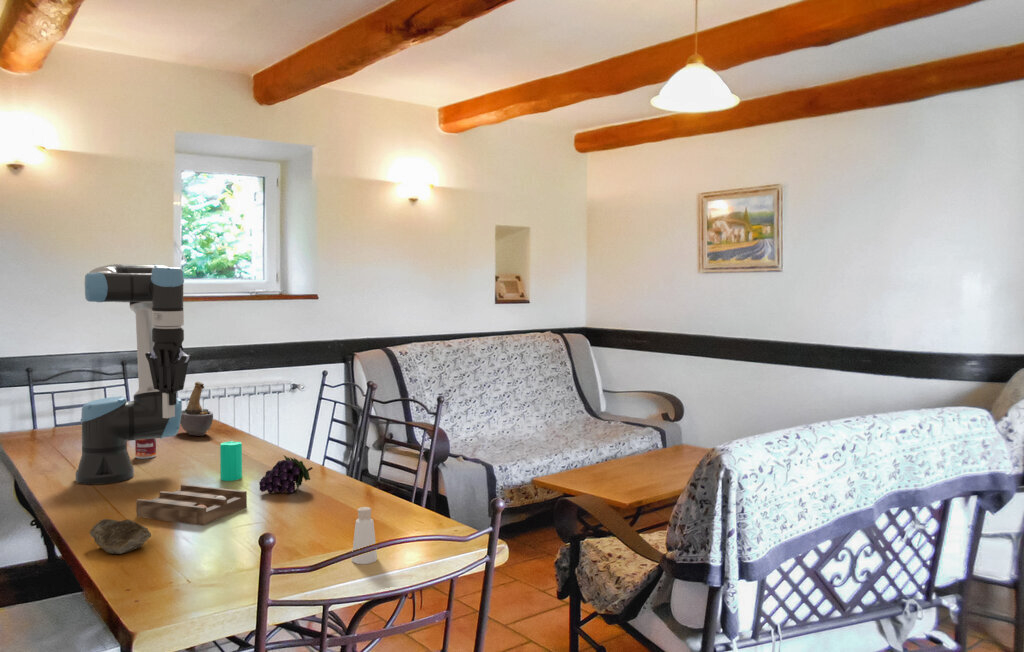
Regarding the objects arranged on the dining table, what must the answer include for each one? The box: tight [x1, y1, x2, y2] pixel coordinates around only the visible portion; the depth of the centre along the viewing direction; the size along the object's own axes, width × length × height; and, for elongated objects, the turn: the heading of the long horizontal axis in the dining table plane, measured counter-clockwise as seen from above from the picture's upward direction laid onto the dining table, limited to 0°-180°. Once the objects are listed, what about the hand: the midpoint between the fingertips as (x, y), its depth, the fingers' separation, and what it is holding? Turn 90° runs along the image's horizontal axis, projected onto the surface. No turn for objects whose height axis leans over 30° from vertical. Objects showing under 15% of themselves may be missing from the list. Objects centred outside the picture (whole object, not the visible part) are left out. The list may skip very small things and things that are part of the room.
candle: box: [219, 440, 243, 482], centre depth 227 cm, size 6×6×12 cm
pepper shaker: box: [351, 506, 378, 565], centre depth 162 cm, size 5×5×11 cm
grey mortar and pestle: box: [180, 381, 214, 437], centre depth 291 cm, size 15×17×20 cm
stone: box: [89, 518, 152, 555], centre depth 168 cm, size 13×8×8 cm
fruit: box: [258, 455, 313, 494], centre depth 214 cm, size 10×11×15 cm
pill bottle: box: [134, 438, 157, 460], centre depth 254 cm, size 6×6×11 cm
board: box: [135, 483, 248, 527], centre depth 194 cm, size 20×16×4 cm
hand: (168, 417), depth 201 cm, fingers closed
